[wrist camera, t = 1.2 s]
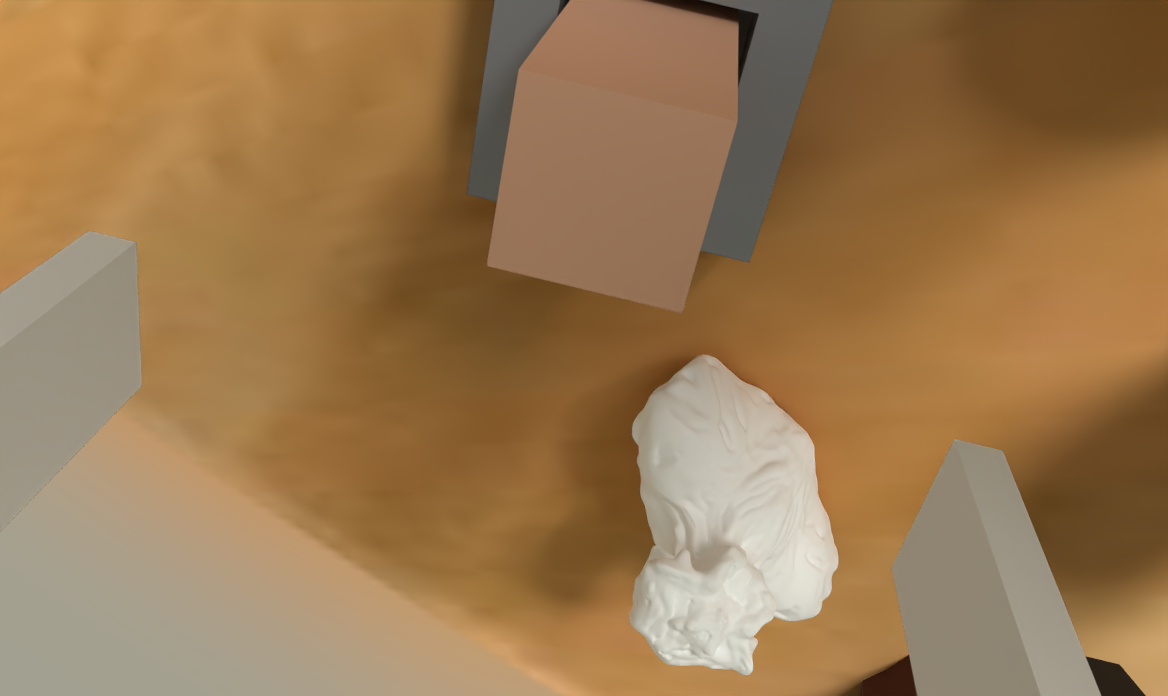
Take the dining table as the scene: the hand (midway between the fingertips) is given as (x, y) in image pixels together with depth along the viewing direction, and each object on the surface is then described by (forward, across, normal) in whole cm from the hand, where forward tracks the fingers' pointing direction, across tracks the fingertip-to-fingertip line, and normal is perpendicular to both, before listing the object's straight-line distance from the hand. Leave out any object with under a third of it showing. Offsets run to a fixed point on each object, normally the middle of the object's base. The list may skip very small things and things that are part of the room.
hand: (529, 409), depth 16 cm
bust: (+22, +7, -15) cm, 27 cm away
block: (+21, 0, 0) cm, 21 cm away
